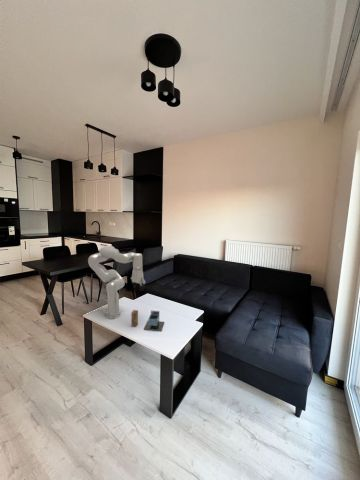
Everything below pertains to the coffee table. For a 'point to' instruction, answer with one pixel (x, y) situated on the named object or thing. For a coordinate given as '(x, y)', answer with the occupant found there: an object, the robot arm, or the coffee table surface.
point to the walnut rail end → (134, 318)
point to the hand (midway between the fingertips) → (138, 288)
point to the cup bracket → (154, 322)
